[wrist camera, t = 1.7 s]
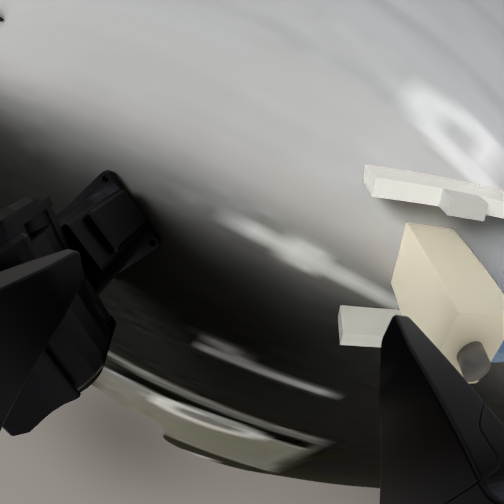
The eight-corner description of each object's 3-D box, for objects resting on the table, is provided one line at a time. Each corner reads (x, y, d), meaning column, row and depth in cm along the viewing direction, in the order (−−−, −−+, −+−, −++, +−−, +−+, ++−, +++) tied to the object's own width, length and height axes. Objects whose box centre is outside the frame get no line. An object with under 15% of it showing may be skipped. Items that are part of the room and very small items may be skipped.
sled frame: (337, 315, 23) (341, 367, 18) (365, 163, 17) (384, 189, 13) (519, 324, 20) (541, 362, 16) (565, 208, 15) (602, 237, 11)
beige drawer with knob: (390, 282, 21) (425, 404, 12) (406, 222, 19) (467, 332, 10) (434, 286, 20) (483, 400, 11) (452, 228, 18) (528, 331, 9)
